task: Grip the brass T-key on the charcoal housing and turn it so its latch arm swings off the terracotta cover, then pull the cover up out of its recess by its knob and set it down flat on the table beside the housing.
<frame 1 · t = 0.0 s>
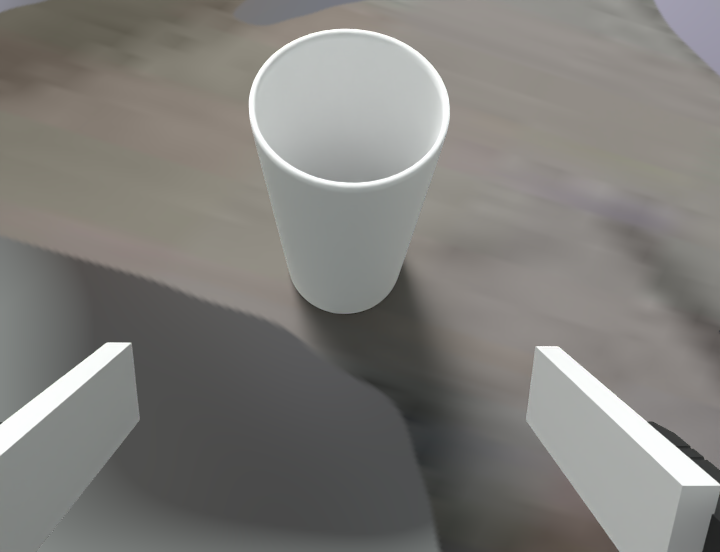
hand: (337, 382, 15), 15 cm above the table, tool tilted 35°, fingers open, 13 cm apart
cup: (344, 261, 33), on the table
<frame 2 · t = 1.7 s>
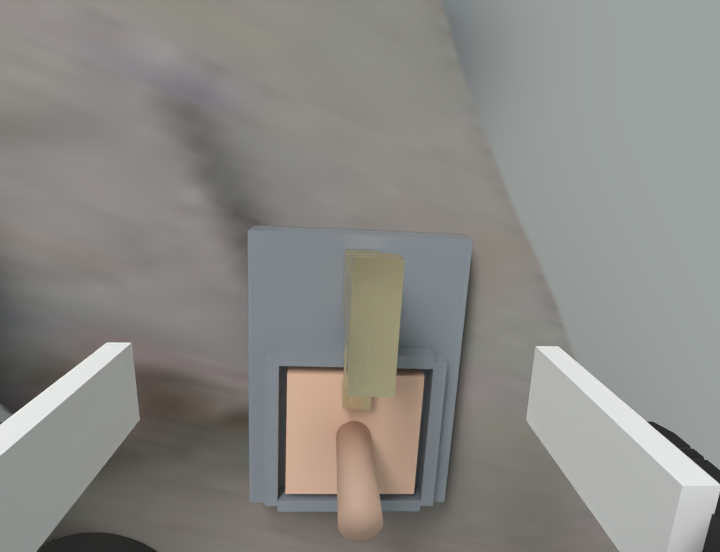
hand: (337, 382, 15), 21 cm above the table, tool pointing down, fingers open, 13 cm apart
cover: (352, 425, 35), point 3 cm above the table, touching housing
housing: (353, 362, 37), on the table
key: (363, 341, 28), point 9 cm above the table, hinge at 0.0°
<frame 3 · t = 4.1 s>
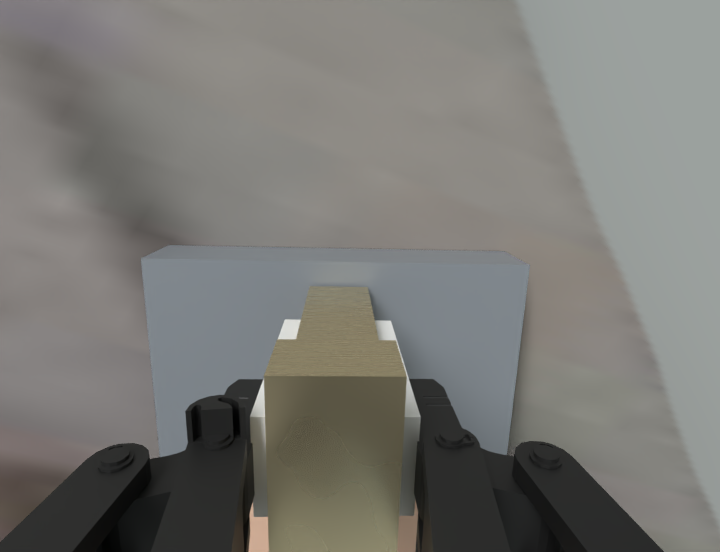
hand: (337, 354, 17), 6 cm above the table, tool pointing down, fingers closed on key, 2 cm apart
housing: (336, 450, 24), on the table
key: (335, 475, 14), point 9 cm above the table, hinge at 0.0°, touching gripper
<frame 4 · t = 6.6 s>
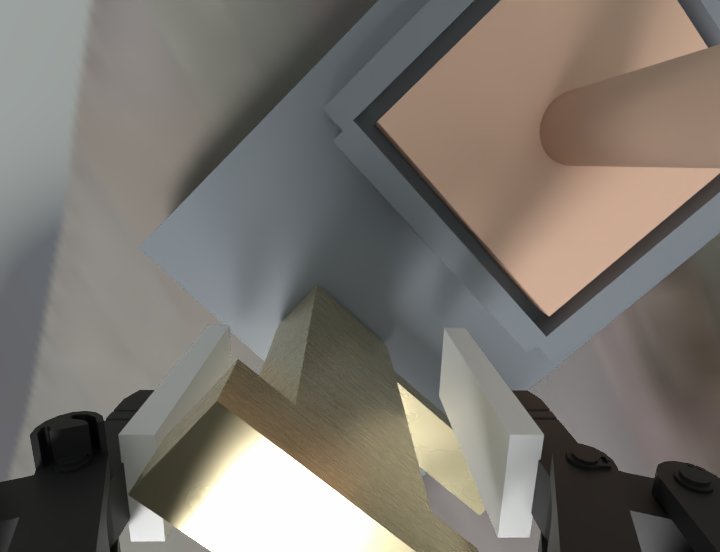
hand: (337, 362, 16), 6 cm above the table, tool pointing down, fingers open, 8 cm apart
cover: (555, 131, 17), point 3 cm above the table, touching housing
housing: (458, 197, 21), on the table
key: (396, 456, 14), point 9 cm above the table, hinge at -86.5°
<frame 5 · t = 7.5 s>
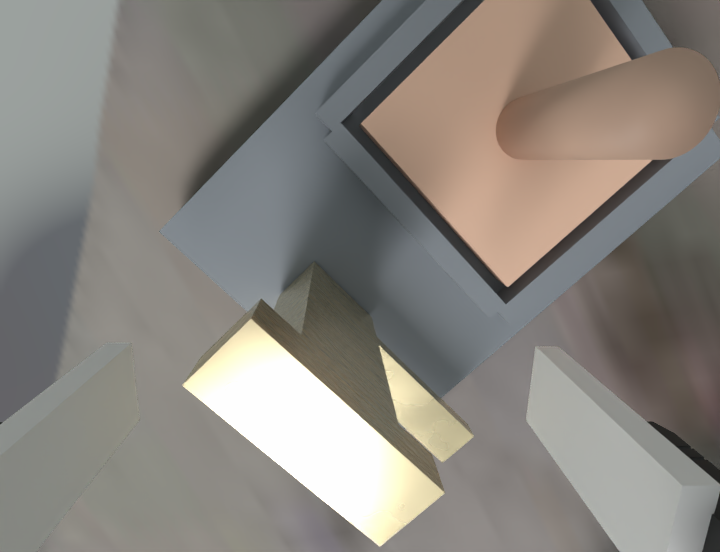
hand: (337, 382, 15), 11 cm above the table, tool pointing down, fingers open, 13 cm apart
cover: (512, 130, 21), point 3 cm above the table, touching housing
housing: (433, 187, 24), on the table
key: (374, 398, 17), point 9 cm above the table, hinge at -89.7°
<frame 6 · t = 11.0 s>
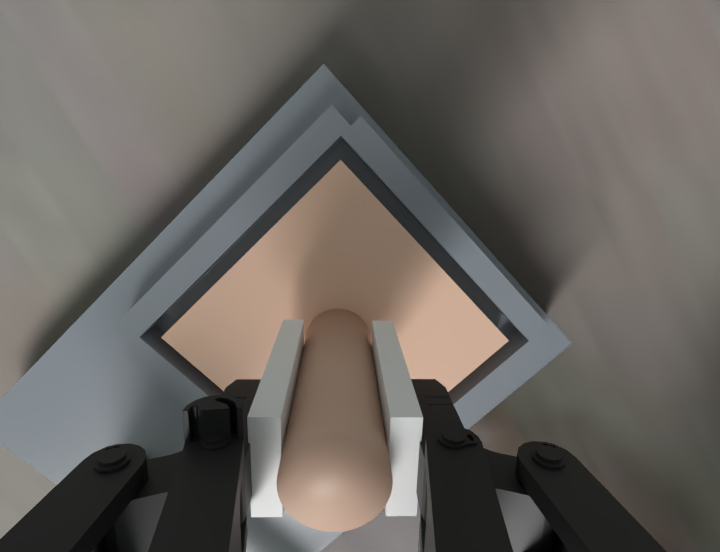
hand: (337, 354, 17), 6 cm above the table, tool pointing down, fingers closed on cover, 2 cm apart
cover: (338, 326, 20), point 3 cm above the table, touching gripper, housing
housing: (283, 356, 23), on the table
when the fingers open (4 cm above the table, at t = 18.0 s): cover drops 3 cm, on the table.
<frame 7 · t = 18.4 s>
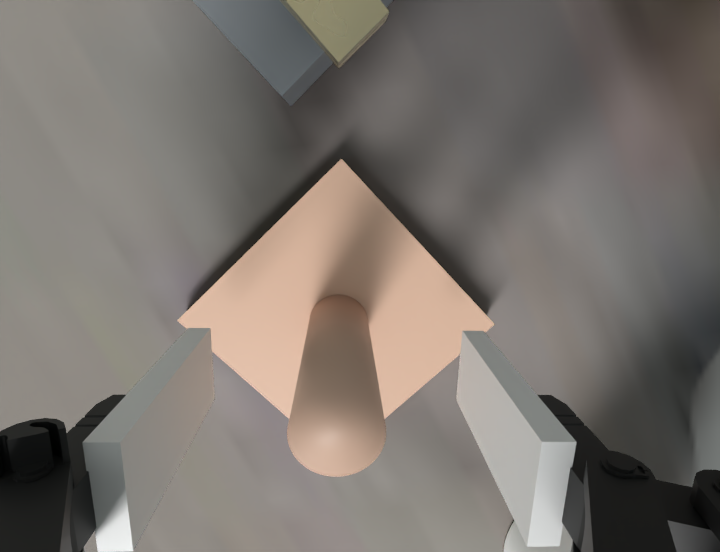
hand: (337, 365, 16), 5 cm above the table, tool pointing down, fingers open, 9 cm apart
cover: (338, 311, 22), on the table
cup: (574, 542, 25), on the table
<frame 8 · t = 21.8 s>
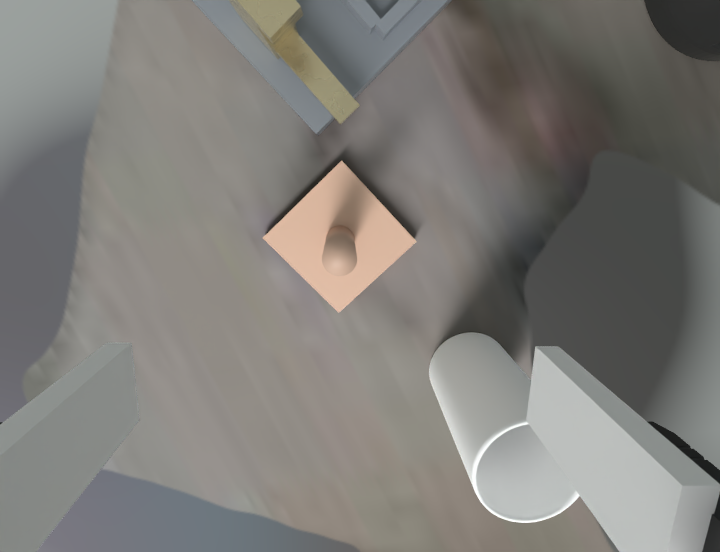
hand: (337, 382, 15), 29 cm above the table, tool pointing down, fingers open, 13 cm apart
cover: (340, 237, 43), on the table
cup: (467, 368, 47), on the table
key: (287, 37, 30), point 9 cm above the table, hinge at -90.8°
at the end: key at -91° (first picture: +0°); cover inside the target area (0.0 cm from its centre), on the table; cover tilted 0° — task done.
